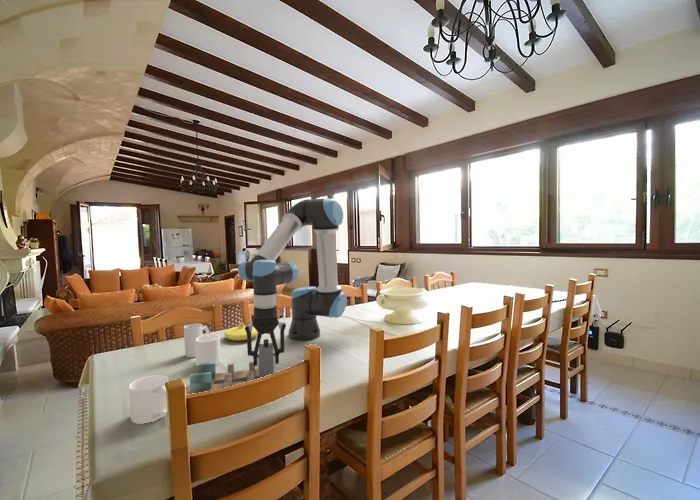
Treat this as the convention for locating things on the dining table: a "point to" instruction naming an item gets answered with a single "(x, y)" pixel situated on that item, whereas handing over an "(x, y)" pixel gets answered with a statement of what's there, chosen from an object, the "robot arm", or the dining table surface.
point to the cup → (208, 349)
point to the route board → (218, 377)
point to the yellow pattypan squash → (239, 333)
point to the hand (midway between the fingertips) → (266, 373)
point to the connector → (265, 358)
